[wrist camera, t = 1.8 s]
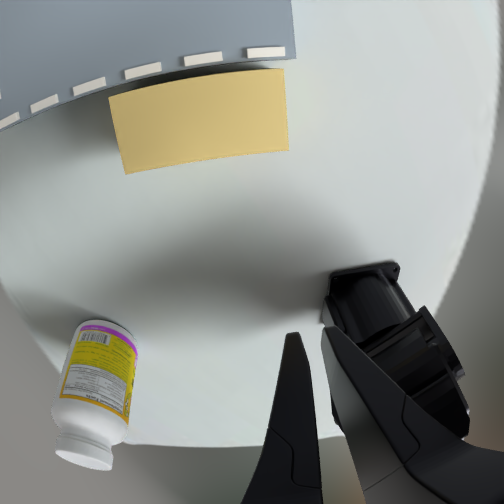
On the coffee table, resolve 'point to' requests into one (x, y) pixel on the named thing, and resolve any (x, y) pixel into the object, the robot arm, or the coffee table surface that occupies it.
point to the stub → (201, 119)
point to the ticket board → (126, 44)
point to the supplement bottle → (95, 393)
